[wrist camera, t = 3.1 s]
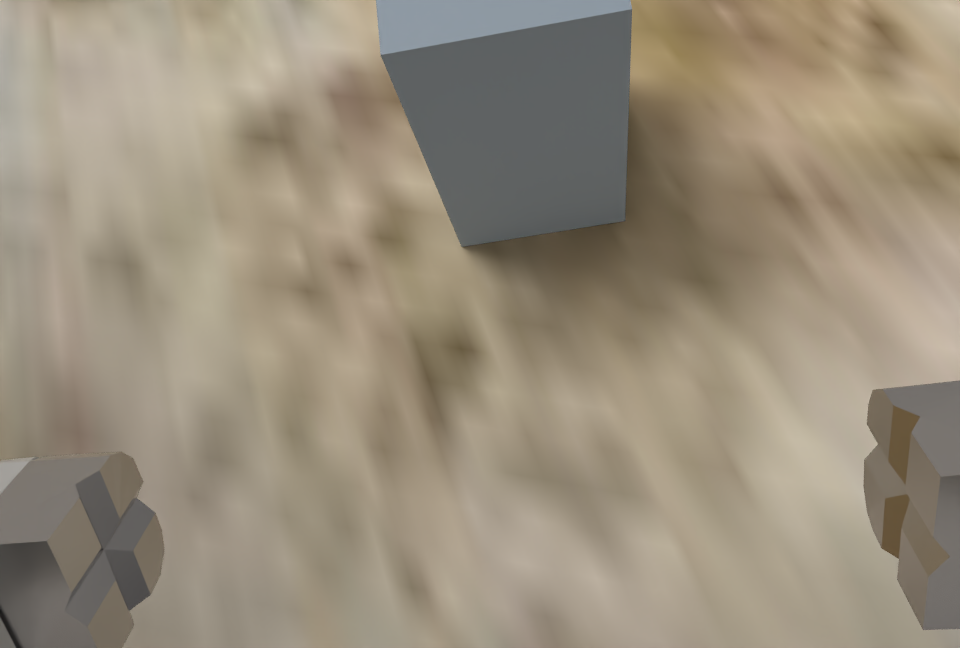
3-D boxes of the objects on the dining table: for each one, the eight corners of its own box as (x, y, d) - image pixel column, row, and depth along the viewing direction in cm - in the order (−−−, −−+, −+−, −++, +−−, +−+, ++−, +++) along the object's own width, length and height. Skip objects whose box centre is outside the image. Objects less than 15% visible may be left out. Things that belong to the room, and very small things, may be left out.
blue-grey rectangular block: (461, 246, 27) (380, 55, 18) (446, 105, 29) (364, -140, 19) (625, 221, 26) (631, 8, 17) (599, 78, 28) (593, -188, 19)
